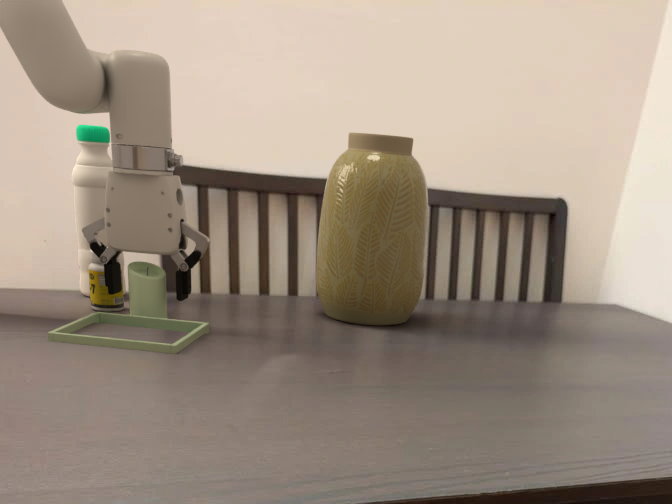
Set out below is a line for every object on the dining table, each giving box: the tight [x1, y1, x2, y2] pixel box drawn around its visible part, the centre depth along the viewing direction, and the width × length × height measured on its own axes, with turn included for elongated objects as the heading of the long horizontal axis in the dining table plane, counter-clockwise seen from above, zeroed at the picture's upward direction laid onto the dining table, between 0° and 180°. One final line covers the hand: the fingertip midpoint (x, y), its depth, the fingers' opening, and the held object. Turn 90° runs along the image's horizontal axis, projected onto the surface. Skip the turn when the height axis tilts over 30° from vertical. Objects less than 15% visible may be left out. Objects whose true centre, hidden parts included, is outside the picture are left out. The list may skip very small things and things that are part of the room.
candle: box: [127, 260, 168, 319], centre depth 101 cm, size 5×5×8 cm
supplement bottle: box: [88, 250, 125, 313], centre depth 108 cm, size 5×5×8 cm
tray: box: [47, 311, 210, 355], centre depth 90 cm, size 15×13×2 cm
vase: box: [315, 132, 429, 327], centre depth 114 cm, size 17×17×27 cm
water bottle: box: [71, 124, 127, 298], centre depth 114 cm, size 7×7×25 cm
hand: (148, 296), depth 101 cm, fingers open, 9 cm apart
